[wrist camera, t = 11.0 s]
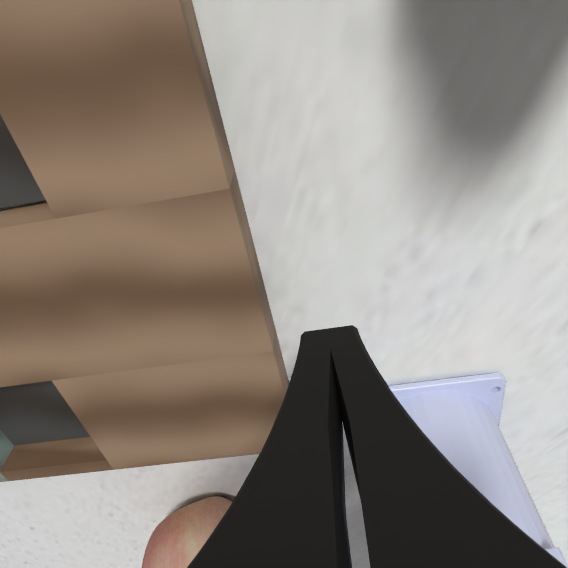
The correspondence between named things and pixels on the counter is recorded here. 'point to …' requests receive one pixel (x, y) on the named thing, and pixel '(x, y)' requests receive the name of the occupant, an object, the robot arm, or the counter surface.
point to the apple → (184, 533)
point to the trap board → (123, 248)
